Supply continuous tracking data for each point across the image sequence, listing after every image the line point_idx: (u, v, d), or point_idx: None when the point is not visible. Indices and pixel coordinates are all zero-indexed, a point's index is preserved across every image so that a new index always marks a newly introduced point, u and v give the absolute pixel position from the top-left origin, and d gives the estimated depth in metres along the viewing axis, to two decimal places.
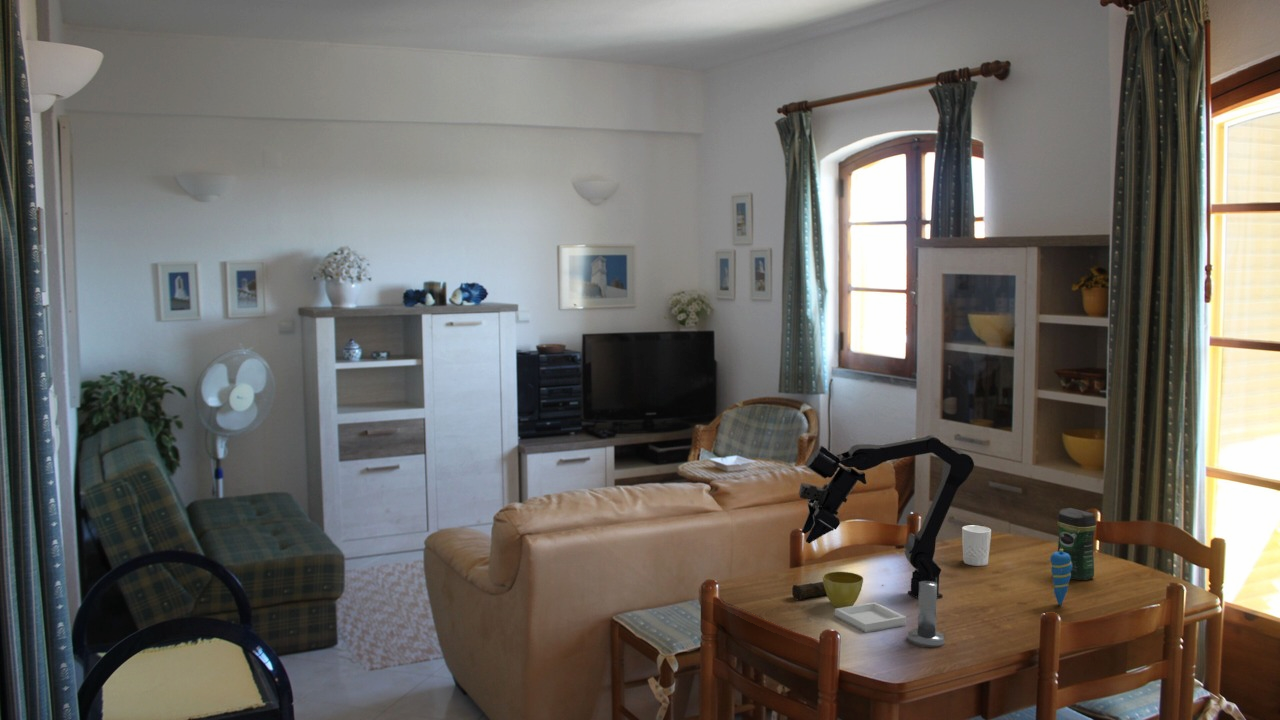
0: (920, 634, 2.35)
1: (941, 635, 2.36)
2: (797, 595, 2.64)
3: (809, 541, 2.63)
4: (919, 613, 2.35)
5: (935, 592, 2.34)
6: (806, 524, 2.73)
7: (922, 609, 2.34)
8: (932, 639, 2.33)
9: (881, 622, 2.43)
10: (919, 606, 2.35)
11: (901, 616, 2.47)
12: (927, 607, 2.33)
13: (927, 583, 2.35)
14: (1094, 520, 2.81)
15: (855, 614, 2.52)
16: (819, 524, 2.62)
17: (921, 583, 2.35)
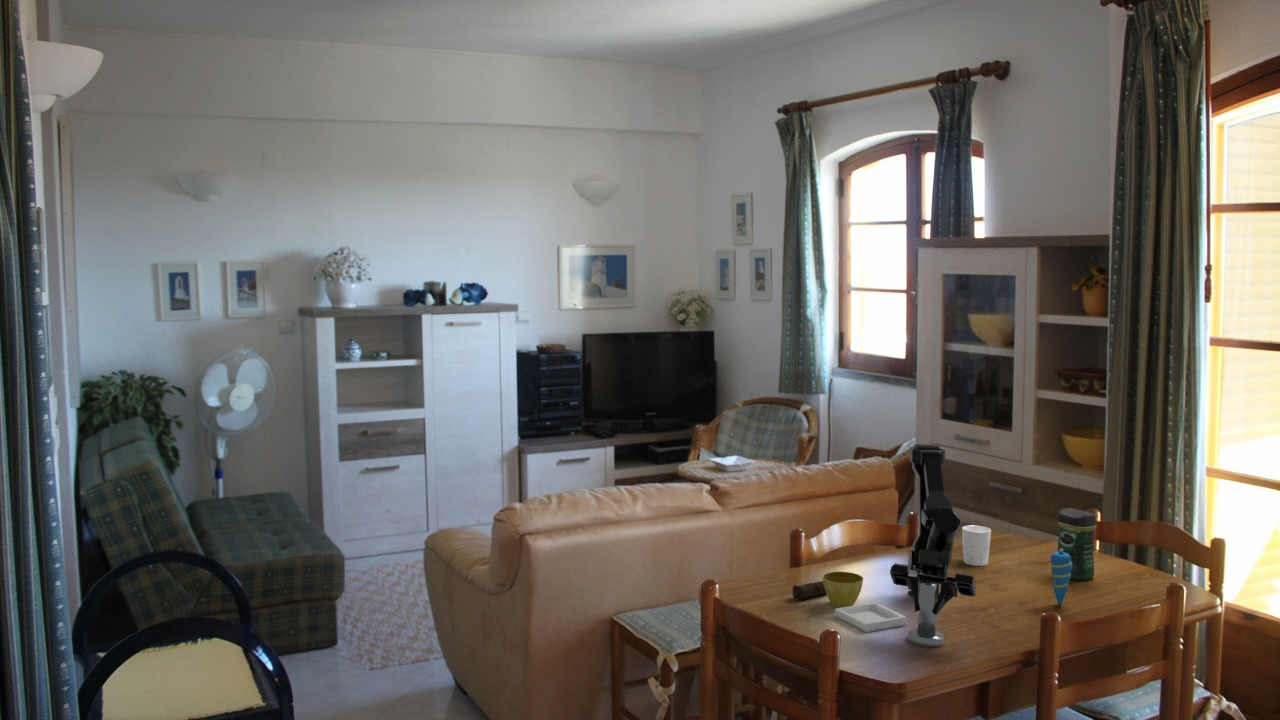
0: (920, 634, 2.35)
1: (941, 635, 2.36)
2: (798, 595, 2.64)
3: (937, 612, 2.34)
4: (919, 613, 2.35)
5: (935, 592, 2.34)
6: (917, 600, 2.36)
7: (922, 609, 2.34)
8: (932, 639, 2.33)
9: (881, 622, 2.43)
10: (919, 606, 2.35)
11: (901, 616, 2.47)
12: (927, 607, 2.33)
13: (927, 583, 2.35)
14: (1094, 520, 2.81)
15: (855, 614, 2.52)
16: None
17: (921, 583, 2.35)
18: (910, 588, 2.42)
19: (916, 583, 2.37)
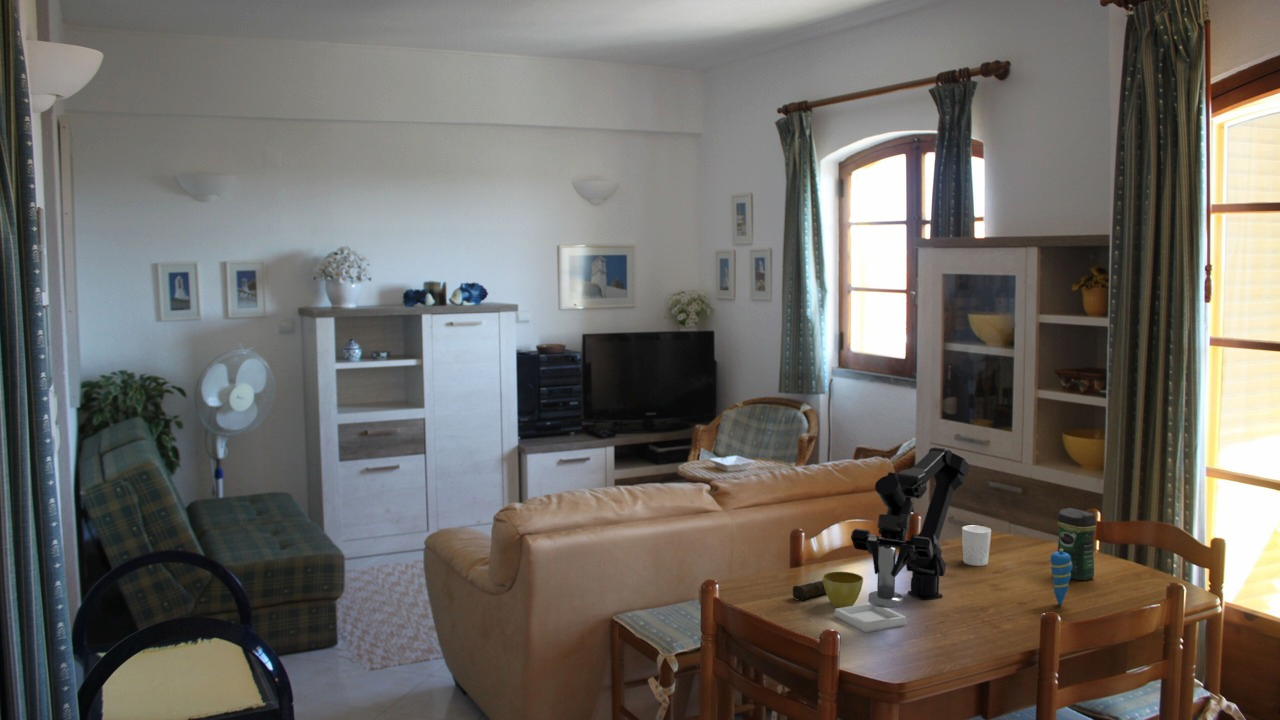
0: (880, 595, 2.44)
1: (900, 596, 2.45)
2: (799, 596, 2.63)
3: (896, 574, 2.43)
4: (878, 575, 2.44)
5: (894, 555, 2.43)
6: (877, 563, 2.45)
7: (882, 572, 2.43)
8: (891, 600, 2.42)
9: (881, 622, 2.43)
10: (878, 569, 2.44)
11: (901, 616, 2.47)
12: (886, 569, 2.42)
13: (886, 546, 2.44)
14: (1094, 520, 2.81)
15: (855, 614, 2.52)
16: None
17: (880, 546, 2.44)
18: (870, 552, 2.51)
19: (876, 547, 2.46)
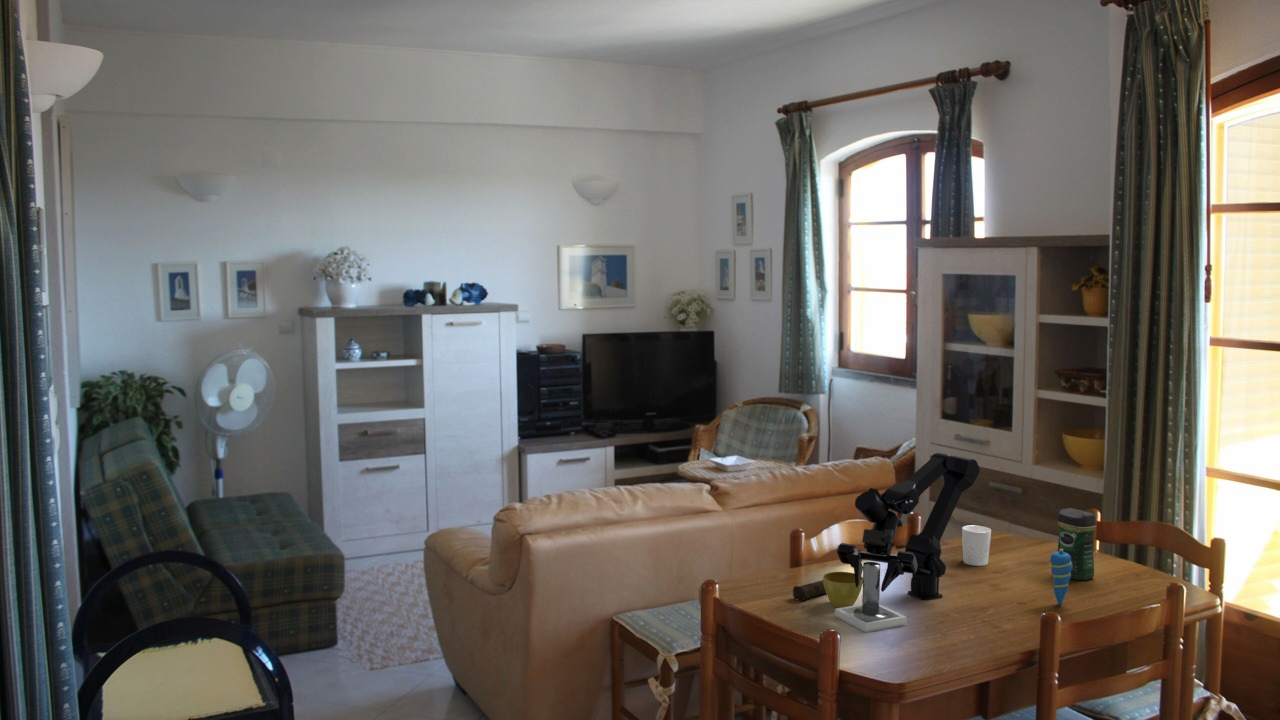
0: (864, 612, 2.48)
1: (884, 613, 2.48)
2: (800, 596, 2.63)
3: (884, 589, 2.46)
4: (863, 592, 2.48)
5: (878, 572, 2.46)
6: (858, 577, 2.49)
7: (866, 589, 2.47)
8: (875, 617, 2.46)
9: (881, 622, 2.43)
10: (863, 586, 2.48)
11: (901, 616, 2.47)
12: (870, 586, 2.46)
13: (871, 564, 2.48)
14: (1094, 520, 2.81)
15: None
16: None
17: (865, 564, 2.48)
18: (852, 566, 2.55)
19: (857, 561, 2.51)
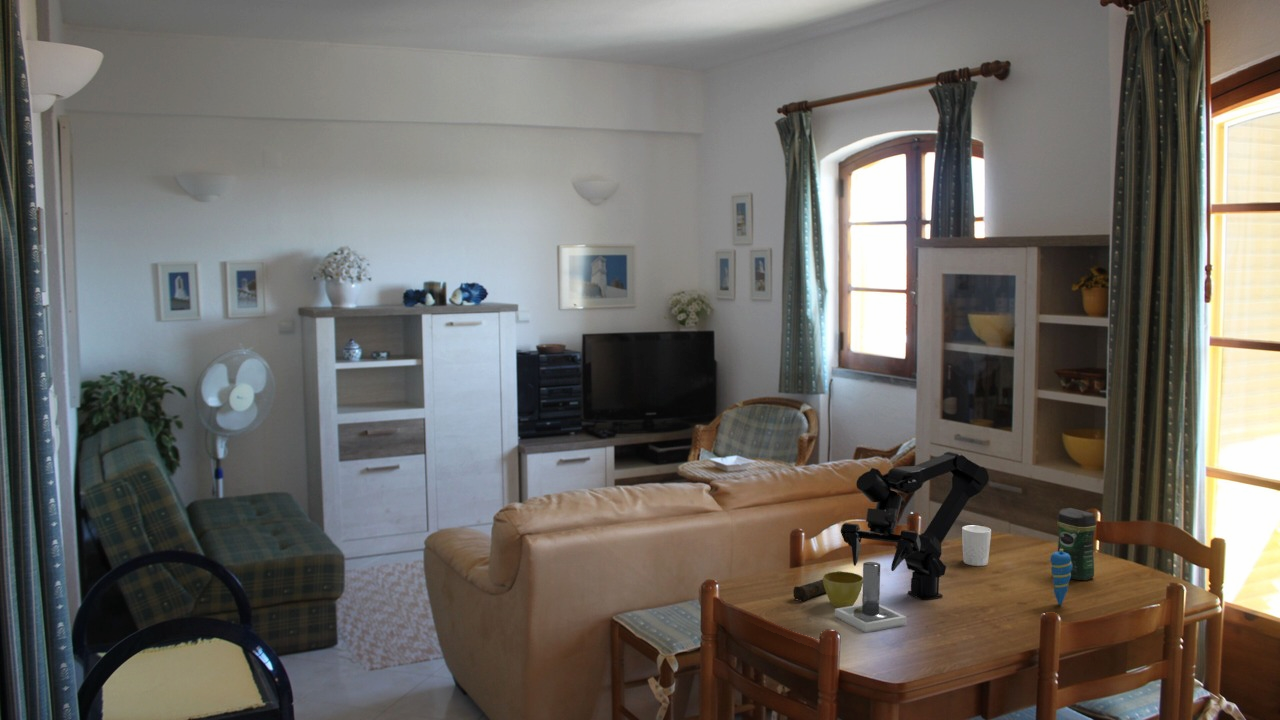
0: (864, 612, 2.48)
1: (884, 613, 2.48)
2: (801, 596, 2.63)
3: (894, 569, 2.47)
4: (863, 592, 2.48)
5: (878, 572, 2.46)
6: (856, 555, 2.52)
7: (866, 589, 2.47)
8: (875, 617, 2.46)
9: (881, 622, 2.43)
10: (863, 586, 2.48)
11: (901, 616, 2.47)
12: (870, 586, 2.46)
13: (871, 564, 2.48)
14: (1094, 520, 2.81)
15: None
16: None
17: (865, 564, 2.48)
18: (850, 544, 2.57)
19: (855, 539, 2.53)
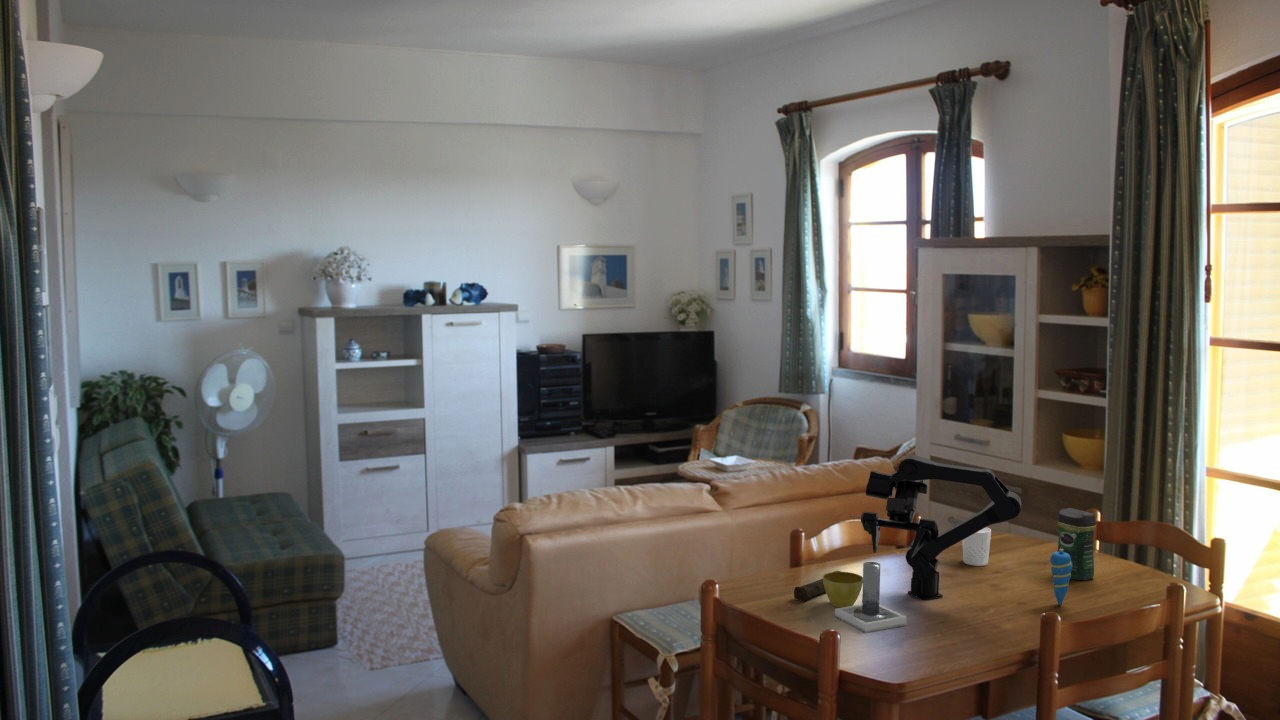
0: (864, 612, 2.48)
1: (884, 613, 2.48)
2: (802, 597, 2.63)
3: (912, 556, 2.56)
4: (863, 592, 2.48)
5: (878, 572, 2.46)
6: (876, 542, 2.61)
7: (866, 589, 2.47)
8: (875, 617, 2.46)
9: (881, 622, 2.43)
10: (863, 586, 2.48)
11: (901, 616, 2.47)
12: (870, 586, 2.46)
13: (871, 564, 2.48)
14: (1094, 520, 2.81)
15: None
16: None
17: (865, 564, 2.48)
18: (870, 533, 2.66)
19: (874, 527, 2.62)
